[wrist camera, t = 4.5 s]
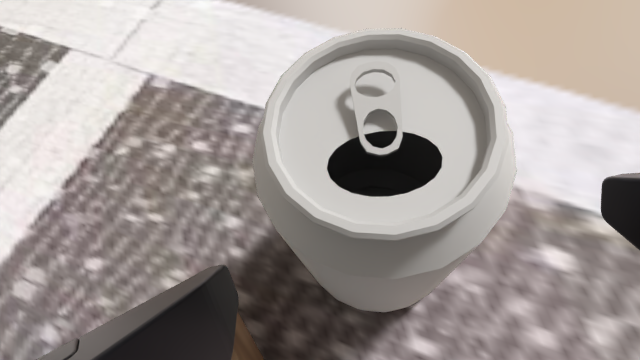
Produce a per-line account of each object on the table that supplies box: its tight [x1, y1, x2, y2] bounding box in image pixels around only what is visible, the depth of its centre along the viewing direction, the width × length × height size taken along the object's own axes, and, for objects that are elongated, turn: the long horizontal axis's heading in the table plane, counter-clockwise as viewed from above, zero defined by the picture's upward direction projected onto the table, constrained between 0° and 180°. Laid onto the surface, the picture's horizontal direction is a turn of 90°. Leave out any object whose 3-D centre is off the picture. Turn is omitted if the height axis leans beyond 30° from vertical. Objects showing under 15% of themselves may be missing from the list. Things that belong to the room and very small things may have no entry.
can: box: [252, 28, 517, 312], centre depth 15 cm, size 8×8×12 cm
